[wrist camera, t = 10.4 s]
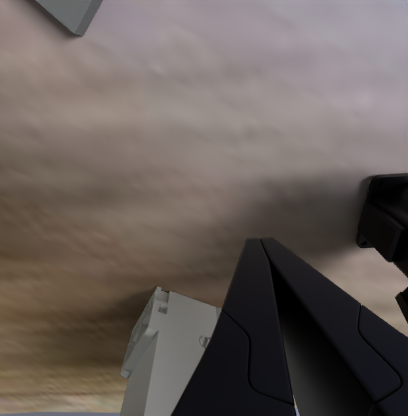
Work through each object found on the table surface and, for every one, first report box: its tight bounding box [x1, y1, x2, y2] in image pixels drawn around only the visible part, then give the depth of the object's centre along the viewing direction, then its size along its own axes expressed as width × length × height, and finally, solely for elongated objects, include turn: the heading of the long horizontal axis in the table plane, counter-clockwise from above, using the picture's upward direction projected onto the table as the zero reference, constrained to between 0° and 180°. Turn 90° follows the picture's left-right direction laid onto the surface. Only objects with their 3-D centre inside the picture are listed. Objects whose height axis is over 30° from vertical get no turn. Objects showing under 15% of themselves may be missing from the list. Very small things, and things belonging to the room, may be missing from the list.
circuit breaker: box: [120, 286, 221, 416], centre depth 22 cm, size 8×14×15 cm, turn 63°
